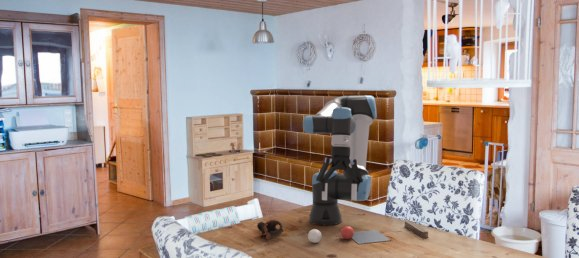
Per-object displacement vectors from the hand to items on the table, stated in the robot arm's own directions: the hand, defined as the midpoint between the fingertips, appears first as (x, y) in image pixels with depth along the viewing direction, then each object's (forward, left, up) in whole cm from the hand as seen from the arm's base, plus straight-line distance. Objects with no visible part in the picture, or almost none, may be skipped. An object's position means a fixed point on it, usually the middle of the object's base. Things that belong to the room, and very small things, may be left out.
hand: (339, 200), depth 187 cm
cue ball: (-10, -4, -16) cm, 19 cm away
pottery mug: (-29, -12, -19) cm, 36 cm away
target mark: (+2, +15, -18) cm, 24 cm away
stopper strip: (+13, +35, -18) cm, 41 cm away
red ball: (-3, +8, -16) cm, 18 cm away
